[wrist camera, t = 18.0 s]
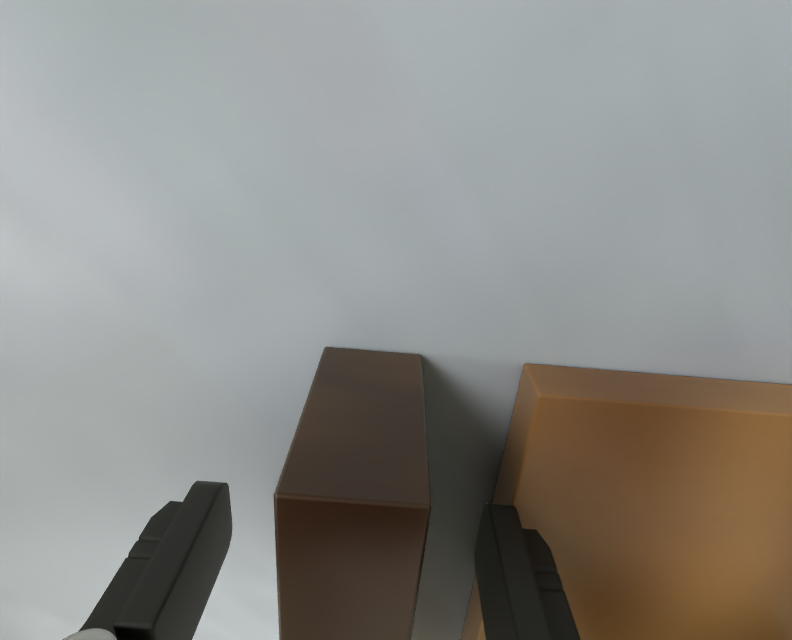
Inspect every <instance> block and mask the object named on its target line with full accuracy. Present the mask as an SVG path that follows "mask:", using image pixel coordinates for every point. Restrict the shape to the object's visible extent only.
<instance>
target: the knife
mask: <svg viewBox="0 0 792 640" xmlns="http://www.w3.org/2000/svg"><path fill="white" fill-rule="evenodd" d="M430 513H431V494H430V479H429V464H428V449H427V434H426V418H425V403H424V388H423V373H422V358H421V355H419V354H408V353H395V352H383V351H370V350H358V349H346V348H333V347H325V348H324V350H323V353H322V356H321V359H320V362H319V365H318V368H317V370H316V373H315V376H314V379H313V382H312V385H311V388H310V391H309V394H308V397H307V400H306V403H305V405H304V408H303V411H302V414H301V417H300V420H299V423H298V426H297V429H296V432H295V435H294V438H293V440H292V443H291V446H290V449H289V452H288V455H287V458H286V461H285V464H284V467H283V470H282V473H281V475H280V478H279V481H278V484H277V487H276V490H275V493H274V516H275V541H276V566H277V591H278V616H279V640H411V636H412V629H413V623H414V616H415V610H416V603H417V597H418V590H419V584H420V577H421V571H422V565H423V558H424V552H425V545H426V539H427V532H428V526H429V519H430Z"/></svg>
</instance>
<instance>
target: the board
mask: <svg viewBox="0 0 792 640" xmlns="http://www.w3.org/2000/svg"><path fill="white" fill-rule="evenodd" d="M492 504H500V505H513V506H515V507H516V509H517V511H518V515H519V518H520V522H521V525H522V528H523V529H536V530H537V531H538V533H539V534H540V535H541V537H542V538H543V539H544V540H545V542H546V543H547V544H548V546H549V547H550V549H551V552H552V555H553V558H554V561H555V564H556V567H557V573H559V576H560V579H561V582H562V585H563V591H565V594H566V597H567V600H568V603H569V606H570V609H571V612H572V615H573V618H574V621H575V624H576V627H577V630H578V633H579V636H580V639H581V640H792V385H787V384H775V383H762V382H750V381H737V380H725V379H713V378H700V377H688V376H676V375H663V374H651V373H639V372H626V371H614V370H602V369H589V368H577V367H565V366H552V365H540V364H528V363H526V364H524V366H523V370H522V374H521V379H520V383H519V387H518V392H517V396H516V401H515V405H514V409H513V414H512V418H511V422H510V427H509V431H508V436H507V440H506V444H505V449H504V453H503V457H502V462H501V466H500V470H499V475H498V479H497V484H496V488H495V492H494V497H493V501H492ZM461 640H486V638H485V631H484V624H483V618H482V611H481V605H480V598H479V592H478V585H477V579H476V575H475V580H474V584H473V588H472V593H471V597H470V602H469V606H468V610H467V615H466V619H465V623H464V628H463V632H462V637H461Z"/></svg>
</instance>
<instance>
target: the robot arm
mask: <svg viewBox="0 0 792 640" xmlns="http://www.w3.org/2000/svg"><path fill="white" fill-rule="evenodd" d="M231 536H232V516H231V506H230V495H229V486H228V484H227V483H221V482H208V481H196V482H195V483H194V484H193V485H192V487H191V489H190V490H189V492H188V494H187V496H186V497H185V499H184V501H183V502H175V501H170V502H169V503H168V504H166V505H165V506H164V507H163V508H162V509H161V510H159V511H158V512H157V513H156V514H155V515H154V516H152V517H151V519H150V520H149V522H148V524H147V525H146V527H145V528H144V530H143V532H142V533H141V535H140V536H139V540H138V541H136V543H135V544H134V546H133V548H132V549H131V551H130V552H129V556H128V558H126V559H125V560H124V562H123V564H122V565H121V567H120V568H119V570H118V571H117V573H116V575H115V576H114V578H113V579H112V581H111V583H110V584H109V586H108V587H107V589H106V591H105V592H104V594H103V595H102V597H101V599H100V600H99V602H98V603H97V605H96V607H95V608H94V610H93V611H92V613H91V615H90V616H89V618H88V619H87V621H86V622H85V624H84V625H83V627H82V628H81V629H80V630H79V631H78V632H76V633H74V634H72V635H70V636H68V637H66V638H64V639H63V640H192V638H193V636H194V633H195V631H196V628H197V626H198V623H199V621H200V618H201V616H202V613H203V611H204V609H205V606H206V604H207V601H208V599H209V596H210V594H211V591H212V589H213V586H214V584H215V581H216V579H217V576H218V574H219V571H220V569H221V566H222V564H223V561H224V559H225V557H226V554H227V551H228V548H229V545H230V541H231ZM475 572H476V579H477V585H478V592H479V598H480V605H481V611H482V618H483V624H484V631H485V638H486V640H581V639H580V636H579V633H578V630H577V627H576V624H575V621H574V618H573V615H572V612H571V609H570V606H569V603H568V600H567V597H566V594H565V591H563V585H562V582H561V579H560V576H559V573H557V567H556V564H555V561H554V558H553V555H552V552H551V549H550V547H549V546H548V544H547V543H546V542H545V540H544V539H543V538H542V537H541V535H540V534H539V533H538V531H537V530H536V529H523V528H522V525H521V522H520V518H519V515H518V511H517V509H516V507H515V506H513V505H500V504H487V503H486V504H485V505H484V508H483V512H482V517H481V521H480V526H479V530H478V535H477V539H476V544H475Z"/></svg>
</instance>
